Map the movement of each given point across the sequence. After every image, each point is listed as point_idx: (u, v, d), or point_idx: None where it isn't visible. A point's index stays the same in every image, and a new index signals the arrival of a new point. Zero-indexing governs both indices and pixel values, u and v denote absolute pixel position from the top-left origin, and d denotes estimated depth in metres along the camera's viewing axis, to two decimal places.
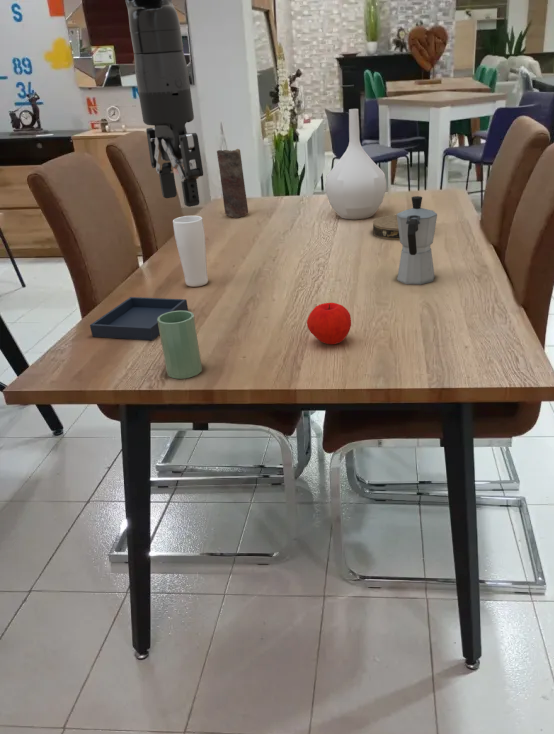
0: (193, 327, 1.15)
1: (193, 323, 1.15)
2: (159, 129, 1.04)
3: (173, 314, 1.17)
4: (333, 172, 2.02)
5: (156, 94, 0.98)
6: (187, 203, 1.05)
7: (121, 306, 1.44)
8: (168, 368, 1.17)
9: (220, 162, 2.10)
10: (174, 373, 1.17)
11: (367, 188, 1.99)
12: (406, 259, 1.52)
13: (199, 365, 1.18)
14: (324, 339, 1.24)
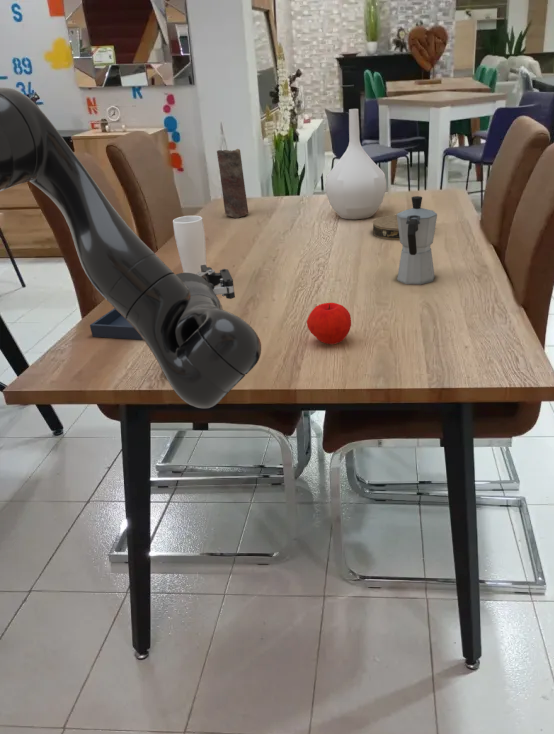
0: None
1: None
2: None
3: None
4: (333, 172, 2.02)
5: None
6: None
7: None
8: None
9: (220, 162, 2.10)
10: None
11: (367, 188, 1.99)
12: (406, 259, 1.52)
13: None
14: (324, 339, 1.24)
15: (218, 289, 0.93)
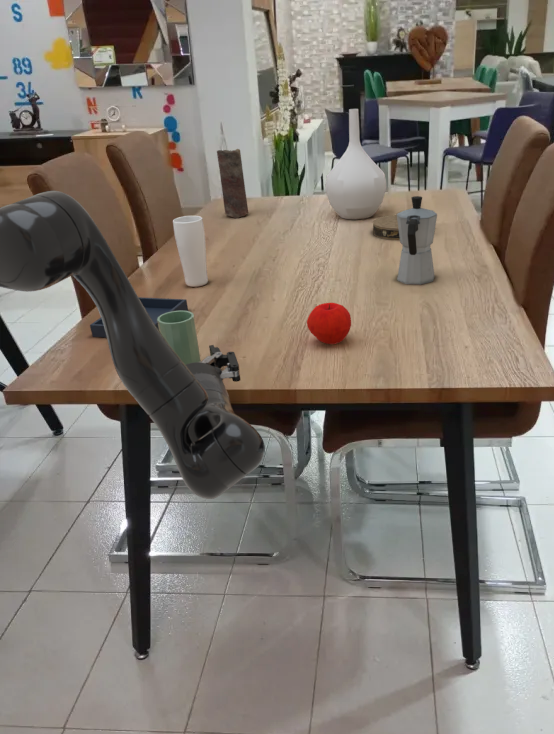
0: (193, 327, 1.15)
1: (193, 323, 1.15)
2: None
3: (173, 314, 1.17)
4: (333, 172, 2.02)
5: None
6: None
7: None
8: None
9: (220, 162, 2.10)
10: None
11: (367, 188, 1.99)
12: (406, 259, 1.52)
13: None
14: (324, 339, 1.24)
15: (225, 373, 1.03)
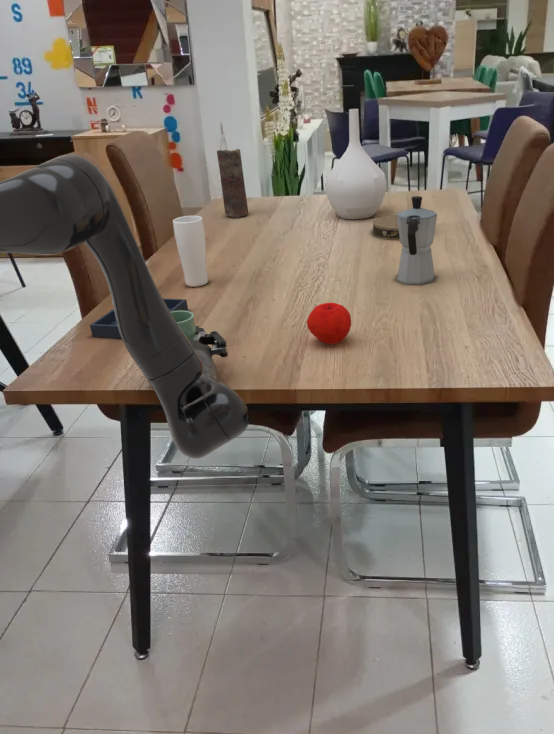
0: (193, 327, 1.15)
1: (193, 323, 1.15)
2: None
3: (173, 314, 1.17)
4: (333, 172, 2.02)
5: None
6: None
7: None
8: None
9: (220, 162, 2.10)
10: None
11: (367, 188, 1.99)
12: (406, 259, 1.52)
13: None
14: (324, 339, 1.24)
15: (214, 350, 1.11)
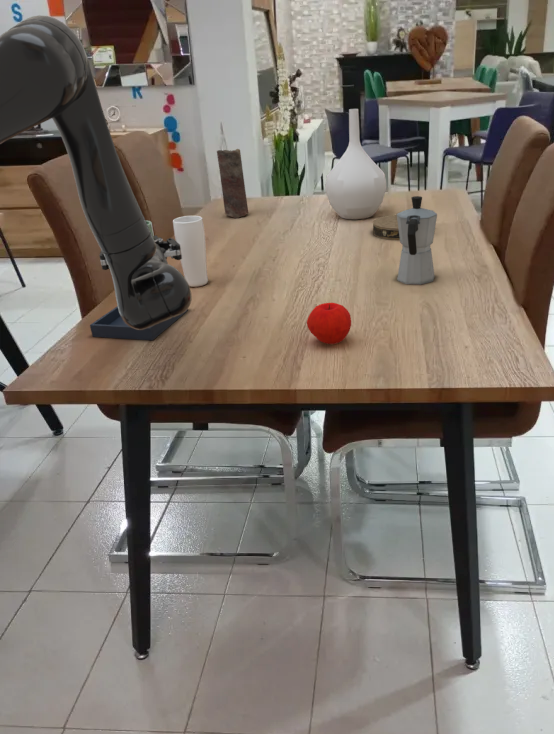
0: None
1: (150, 230, 1.23)
2: None
3: None
4: (333, 172, 2.02)
5: None
6: None
7: None
8: None
9: (220, 162, 2.10)
10: None
11: (367, 188, 1.99)
12: (406, 259, 1.52)
13: None
14: (324, 339, 1.24)
15: (169, 252, 1.19)
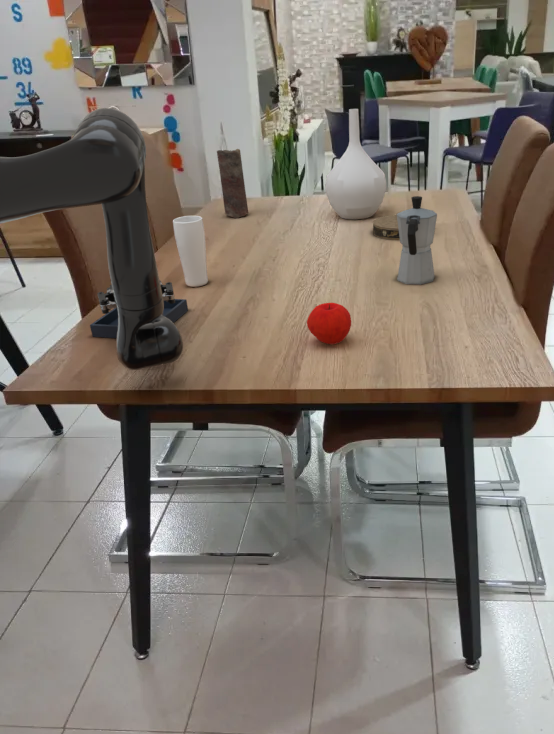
0: None
1: None
2: None
3: None
4: (333, 172, 2.02)
5: None
6: (110, 286, 1.37)
7: None
8: None
9: (220, 162, 2.10)
10: None
11: (367, 188, 1.99)
12: (406, 259, 1.52)
13: None
14: (324, 339, 1.24)
15: (162, 297, 1.31)
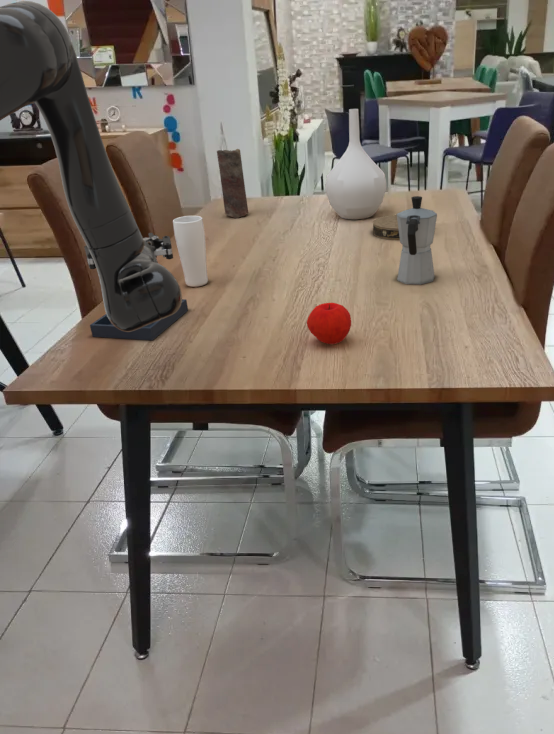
0: None
1: None
2: None
3: None
4: (333, 172, 2.02)
5: None
6: None
7: None
8: None
9: (220, 162, 2.10)
10: None
11: (367, 188, 1.99)
12: (406, 259, 1.52)
13: None
14: (324, 339, 1.24)
15: (159, 251, 1.15)
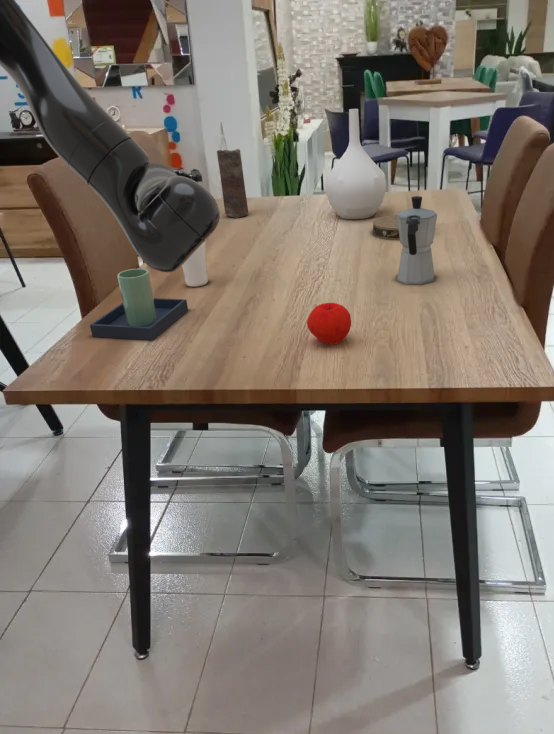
0: (148, 282, 1.36)
1: (148, 278, 1.36)
2: None
3: (132, 271, 1.38)
4: (333, 172, 2.02)
5: None
6: None
7: (121, 306, 1.44)
8: (127, 317, 1.38)
9: (220, 162, 2.10)
10: (132, 321, 1.38)
11: (367, 188, 1.99)
12: (406, 259, 1.52)
13: (154, 315, 1.39)
14: (324, 339, 1.24)
15: None
